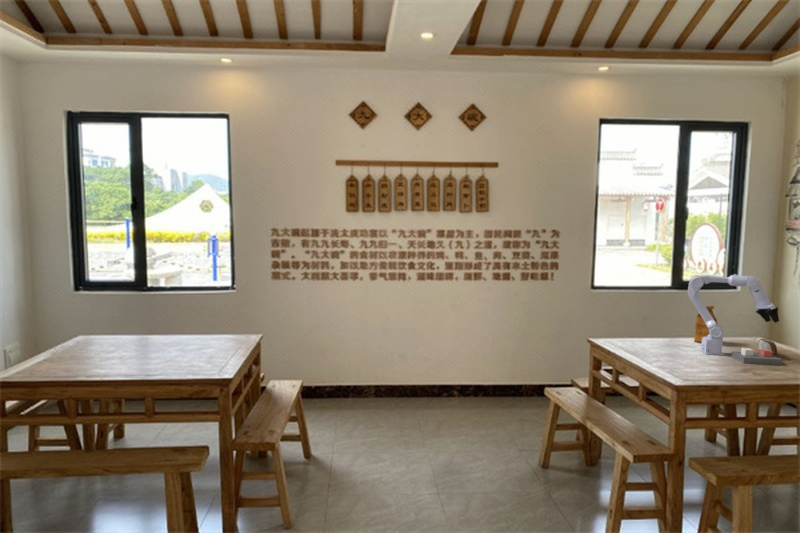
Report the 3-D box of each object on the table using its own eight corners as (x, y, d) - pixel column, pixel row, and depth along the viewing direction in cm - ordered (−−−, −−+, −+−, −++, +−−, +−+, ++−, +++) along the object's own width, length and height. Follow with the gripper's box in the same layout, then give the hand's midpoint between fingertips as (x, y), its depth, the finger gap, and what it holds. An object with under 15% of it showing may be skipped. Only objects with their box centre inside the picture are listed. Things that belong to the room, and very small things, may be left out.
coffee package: (719, 342, 304) (722, 306, 302) (708, 345, 298) (711, 308, 296) (702, 339, 313) (705, 304, 311) (691, 341, 307) (693, 305, 304)
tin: (776, 359, 271) (778, 343, 270) (770, 358, 272) (771, 343, 271) (762, 351, 286) (764, 337, 285) (756, 351, 286) (758, 336, 285)
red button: (763, 357, 263) (764, 350, 263) (759, 355, 267) (759, 348, 267) (772, 357, 263) (772, 351, 263) (767, 355, 267) (768, 349, 266)
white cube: (745, 356, 265) (745, 349, 264) (740, 354, 268) (741, 347, 268) (753, 356, 264) (753, 350, 264) (749, 354, 268) (749, 348, 268)
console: (743, 363, 261) (744, 357, 261) (731, 356, 273) (731, 351, 273) (781, 365, 259) (782, 359, 259) (767, 358, 271) (768, 353, 270)
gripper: (775, 294, 260) (788, 318, 259) (760, 295, 275) (772, 318, 273) (762, 299, 261) (774, 324, 259) (747, 300, 275) (759, 323, 274)
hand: (772, 321), depth 266 cm, fingers open, 7 cm apart
